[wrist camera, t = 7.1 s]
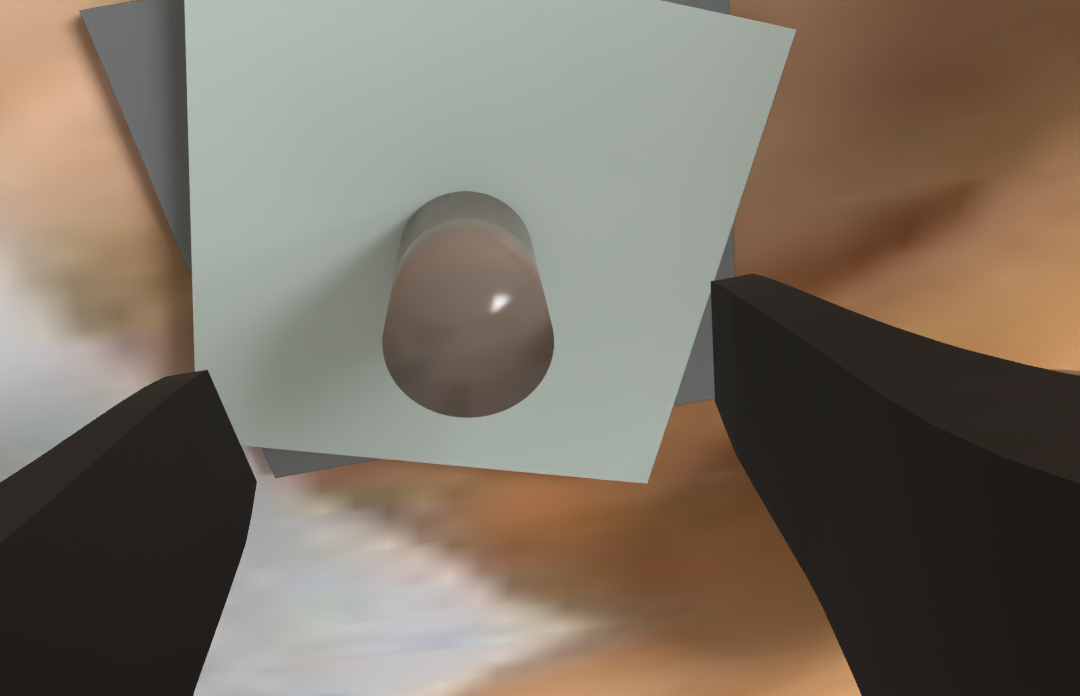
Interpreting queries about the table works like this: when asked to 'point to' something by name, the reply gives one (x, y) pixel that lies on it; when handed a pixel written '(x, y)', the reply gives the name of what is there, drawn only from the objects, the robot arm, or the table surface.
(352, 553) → the table surface
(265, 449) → the mat
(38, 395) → the table surface
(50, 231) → the table surface
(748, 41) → the lid
